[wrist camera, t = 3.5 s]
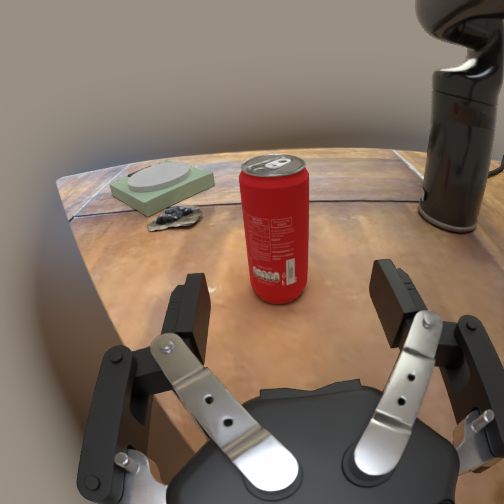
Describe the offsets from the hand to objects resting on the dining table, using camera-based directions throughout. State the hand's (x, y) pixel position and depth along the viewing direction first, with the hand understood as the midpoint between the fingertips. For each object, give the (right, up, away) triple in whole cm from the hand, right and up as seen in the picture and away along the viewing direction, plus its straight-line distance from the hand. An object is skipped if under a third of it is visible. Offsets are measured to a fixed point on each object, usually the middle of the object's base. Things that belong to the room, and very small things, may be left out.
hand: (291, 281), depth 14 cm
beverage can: (+1, -2, +15) cm, 15 cm away
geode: (-12, +5, +27) cm, 31 cm away
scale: (-18, +12, +37) cm, 43 cm away
